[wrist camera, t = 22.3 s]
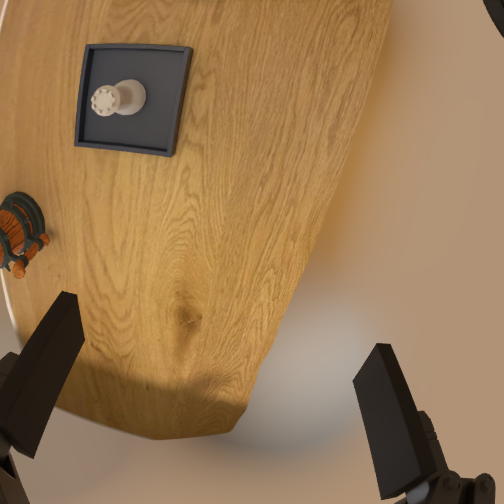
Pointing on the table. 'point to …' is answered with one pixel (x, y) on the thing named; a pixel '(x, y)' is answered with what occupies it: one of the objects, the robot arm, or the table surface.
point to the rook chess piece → (119, 98)
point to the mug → (20, 232)
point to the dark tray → (155, 106)
